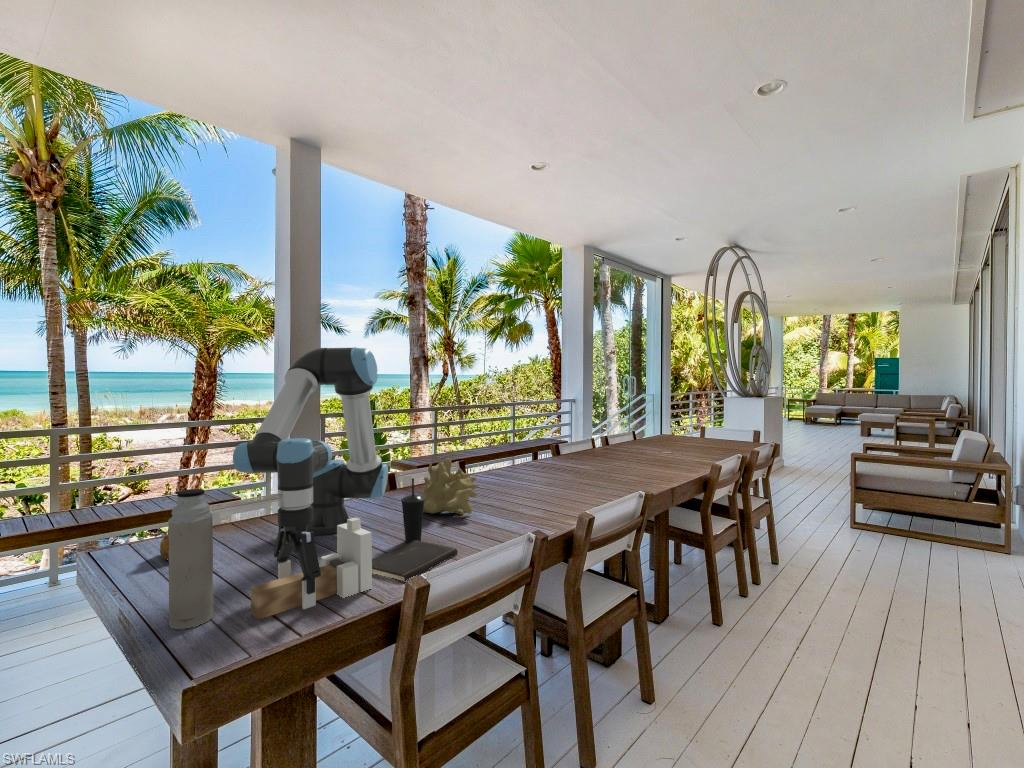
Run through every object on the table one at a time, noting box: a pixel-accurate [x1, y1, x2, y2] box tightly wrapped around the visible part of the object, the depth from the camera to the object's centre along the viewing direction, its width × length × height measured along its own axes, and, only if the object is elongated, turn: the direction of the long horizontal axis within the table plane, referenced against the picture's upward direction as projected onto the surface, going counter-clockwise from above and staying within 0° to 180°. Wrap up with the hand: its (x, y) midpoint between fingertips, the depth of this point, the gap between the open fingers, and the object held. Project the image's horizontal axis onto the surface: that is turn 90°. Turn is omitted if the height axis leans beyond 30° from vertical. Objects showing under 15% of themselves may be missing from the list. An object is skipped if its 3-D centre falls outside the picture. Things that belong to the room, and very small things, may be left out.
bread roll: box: [159, 535, 169, 560], centre depth 145 cm, size 13×10×8 cm
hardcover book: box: [372, 540, 458, 581], centre depth 140 cm, size 16×23×2 cm
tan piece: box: [250, 559, 344, 620], centre depth 115 cm, size 20×4×7 cm, turn 136°
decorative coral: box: [421, 457, 479, 516], centre depth 191 cm, size 26×22×25 cm
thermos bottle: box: [167, 488, 214, 630], centre depth 106 cm, size 8×8×28 cm
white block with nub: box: [320, 517, 373, 599], centre depth 123 cm, size 12×8×16 cm, turn 46°
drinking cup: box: [400, 478, 425, 544], centre depth 158 cm, size 8×8×20 cm
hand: (296, 597), depth 114 cm, fingers open, 13 cm apart
